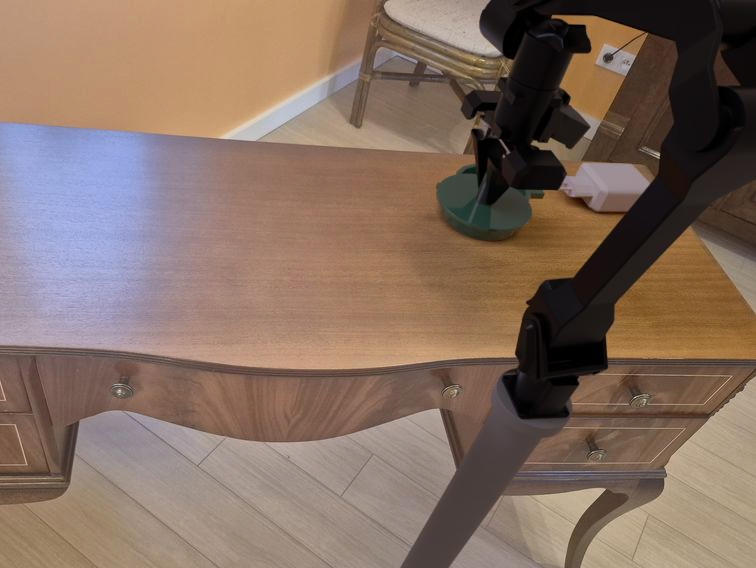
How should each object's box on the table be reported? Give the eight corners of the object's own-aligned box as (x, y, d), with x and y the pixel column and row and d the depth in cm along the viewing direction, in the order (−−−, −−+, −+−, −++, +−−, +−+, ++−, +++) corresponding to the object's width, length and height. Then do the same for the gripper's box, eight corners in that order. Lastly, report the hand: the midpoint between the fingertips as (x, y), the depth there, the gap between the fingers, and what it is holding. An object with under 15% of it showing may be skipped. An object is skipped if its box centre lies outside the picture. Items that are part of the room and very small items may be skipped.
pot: (541, 241, 96) (559, 207, 92) (439, 240, 93) (452, 204, 89) (514, 199, 104) (529, 165, 99) (419, 196, 101) (430, 161, 96)
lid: (544, 237, 78) (561, 203, 74) (451, 236, 76) (464, 201, 72) (507, 181, 86) (522, 148, 83) (423, 179, 84) (433, 145, 80)
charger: (540, 183, 108) (615, 184, 111) (563, 214, 102) (642, 214, 105) (551, 159, 105) (628, 160, 108) (575, 189, 99) (657, 190, 102)
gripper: (640, 123, 64) (572, 242, 75) (563, 48, 76) (515, 160, 88) (542, 119, 62) (488, 242, 73) (480, 42, 74) (442, 158, 86)
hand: (485, 197), depth 80 cm, fingers closed on lid, 2 cm apart
